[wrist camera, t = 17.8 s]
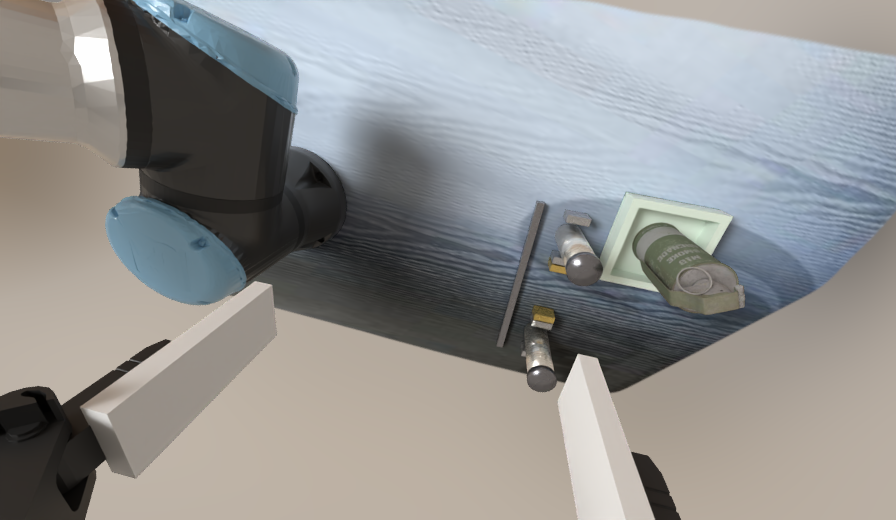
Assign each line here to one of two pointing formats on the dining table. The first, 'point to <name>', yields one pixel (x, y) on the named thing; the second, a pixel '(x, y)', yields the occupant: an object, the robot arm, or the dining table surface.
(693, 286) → the grenade
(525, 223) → the dining table surface
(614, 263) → the tray
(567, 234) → the fuse rail
